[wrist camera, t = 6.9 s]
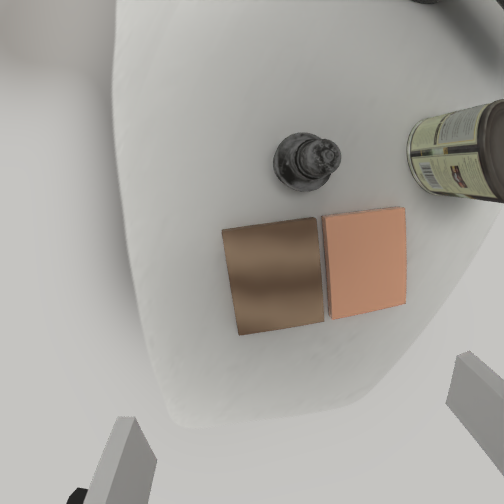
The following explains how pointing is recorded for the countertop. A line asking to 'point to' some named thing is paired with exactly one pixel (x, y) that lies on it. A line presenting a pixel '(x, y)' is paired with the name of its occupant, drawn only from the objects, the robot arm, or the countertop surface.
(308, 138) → the dark chess piece
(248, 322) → the shorter pad
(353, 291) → the taller pad
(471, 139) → the coffee can
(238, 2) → the countertop surface
